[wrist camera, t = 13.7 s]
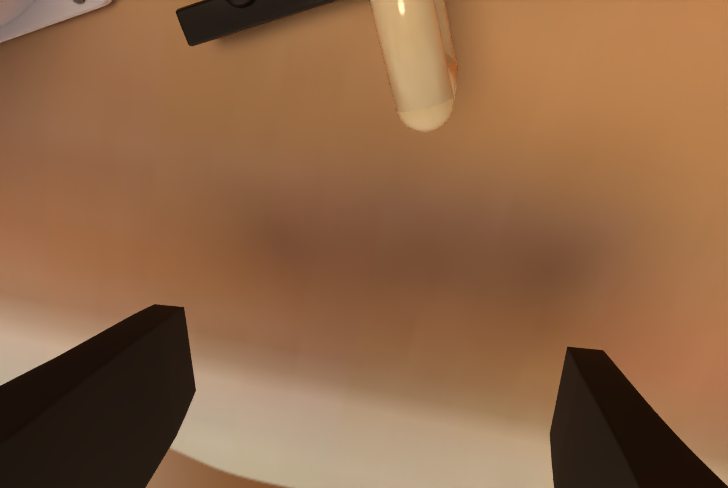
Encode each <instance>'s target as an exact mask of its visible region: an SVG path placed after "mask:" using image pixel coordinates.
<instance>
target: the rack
mask: <svg viewBox="0 0 728 488" xmlns="http://www.w3.org/2000/svg"><path fill="white" fill-rule="evenodd" d="M334 1H337V0H203V1H200V2H197V3H194V4H191V5H188V6H185V7H182V8H179V9H177V10H176V14H177V17H178V20H179V22H180V25H181V27H182V30H183V32H184V35H185V37H186V40H187V42H188V44H189V46H195V45H198V44H201V43H205V42H208V41H211V40H214V39H217V38H220V37H223V36H227V35H230V34H233V33H236V32H239V31H242V30H246V29H249V28H252V27H255V26H258V25H261V24H264V23H268V22H271V21H274V20H277V19H280V18H283V17H287V16H290V15H293V14H296V13H299V12H302V11H306V10H309V9H312V8H315V7H318V6H321V5H324V4H328V3H331V2H334Z"/></svg>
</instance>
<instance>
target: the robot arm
mask: <svg viewBox="0 0 728 488" xmlns="http://www.w3.org/2000/svg"><path fill="white" fill-rule="evenodd" d="M111 1H112V0H86V1H85V2H83V1H82V0H0V43H2V42H5V41H7V40H10V39H13V38H16V37H19V36H22V35H24V34H27V33H30V32H33V31H36V30H39V29H41V28H44V27H47V26H50V25H53V24H56V23H58V22H61V21H64V20H67V19H70V18H73V17H75V16H78V15H81V14H84V13H87V12H90V11H92V10H95V9H98V8H101V7H104V6H106V5H108V4H109V3H111ZM195 391H196V388H195V381H194V374H193V367H192V360H191V353H190V346H189V339H188V332H187V325H186V318H185V311H184V307H176V306H166V305H157V304H154V305H152V306H150V307H148V308H146V309H144V310H142V311H140V312H138V313H136V314H134V315H132V316H130V317H128V318H126V319H124V320H123V321H121V322H119V323H117V324H115V325H114V326H112V327H110V328H108V329H106V330H105V331H103V332H101V333H99V334H98V335H96V336H94V337H92V338H90V339H89V340H87V341H85V342H83V343H81V344H79V345H78V346H76V347H74V348H72V349H70V350H69V351H67V352H65V353H63V354H61V355H60V356H58V357H56V358H54V359H52V360H50V361H48V362H46V363H44V364H42V365H40V366H38V367H36V368H34V369H32V370H30V371H28V372H26V373H24V374H22V375H20V376H19V377H17V378H15V379H13V380H11V381H9V382H7V383H5V384H3V385H1V386H0V488H145V487H146V486H147V484H148V482H149V481H150V479H151V478H152V476H153V474H154V473H155V471H156V469H157V468H158V466H159V464H160V463H161V461H162V459H163V457H164V456H165V454H166V452H167V451H168V449H169V448H170V446H171V444H172V442H173V441H174V439H175V437H176V435H177V433H178V431H179V429H180V427H181V424H182V422H183V420H184V418H185V416H186V413H187V411H188V408H189V406H190V403H191V401H192V399H193V396H194V394H195ZM550 444H551V458H552V470H553V481H554V488H728V486H727V485H726V484H725V483H724V482H723V481H722V480H721V479H720V478H719V477H718V476H716V475H715V474H714V473H713V472H712V471H711V470H710V469H709V468H708V467H707V466H706V465H705V464H704V463H703V462H702V461H701V460H700V459H699V458H698V457H697V456H696V455H695V454H694V453H693V452H692V451H691V450H690V449H689V448H688V447H687V446H686V444H685V443H684V442H683V441H682V440H681V439H680V438H679V437H678V436H677V435H676V434H675V433H674V432H673V431H672V430H671V429H670V427H669V426H668V425H667V424H666V423H665V422H664V421H663V420H662V419H661V418H660V416H659V415H658V414H657V413H656V412H655V411H654V410H653V409H652V407H651V406H650V405H649V404H648V403H647V402H646V400H645V399H644V398H643V397H642V396H641V395H640V393H639V392H638V391H637V390H636V389H635V388H634V386H633V385H632V384H631V383H630V382H629V380H628V379H627V378H626V377H625V376H624V374H623V373H622V372H621V371H620V370H619V369H618V367H617V366H616V365H615V364H614V363H613V361H612V360H611V359H610V358H609V357H608V355H607V354H606V353H605V352H604V351H603V350H595V349H585V348H575V347H567V351H566V356H565V361H564V366H563V371H562V376H561V381H560V386H559V391H558V396H557V401H556V406H555V411H554V416H553V420H552V425H551V430H550Z"/></svg>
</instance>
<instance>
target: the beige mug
mask: <svg viewBox="0 0 728 488" xmlns="http://www.w3.org/2000/svg"><path fill="white" fill-rule="evenodd" d="M369 1H370V5H371V9H372V13H373V17H374V22H375V26H376V30H377V34H378V38H379V42H380V46H381V50H382V55H383V59H384V63H385V67H386V71H387V75H388V79H389V83H390V88H391V92H392V96H393V100H394V104H395V108H396V112H397V115H398V117H399V118H400V120H401V121H402V122H403V124H404V125H406V126H407V127H408V128H410V129H412V130H414V131H418V132H430V131H434V130H436V129H438V128H440V127H441V126H443V125H444V124H445V123H446V122H447V120H448V119H449V118H450V116H451V114H452V111H453V108H454V100H455V91H456V82H457V73H458V69H457V63H456V58H455V52H454V47H453V42H452V37H451V32H450V27H449V22H448V17H447V11H446V6H445V1H444V0H369Z"/></svg>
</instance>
